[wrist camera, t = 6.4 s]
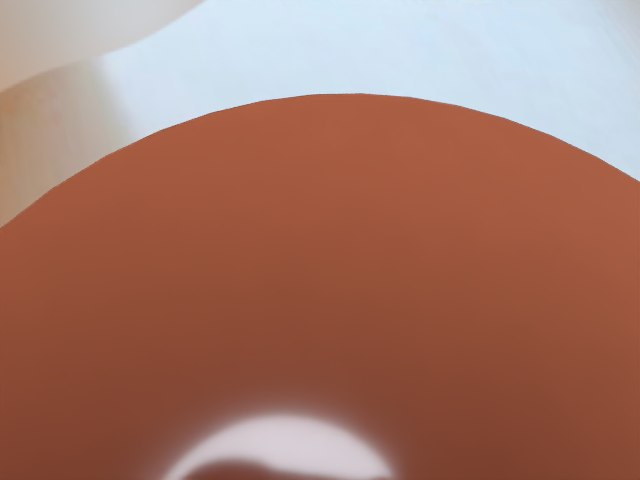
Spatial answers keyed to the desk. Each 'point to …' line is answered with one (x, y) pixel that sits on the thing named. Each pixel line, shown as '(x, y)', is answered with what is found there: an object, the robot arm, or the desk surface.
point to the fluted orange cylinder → (326, 303)
